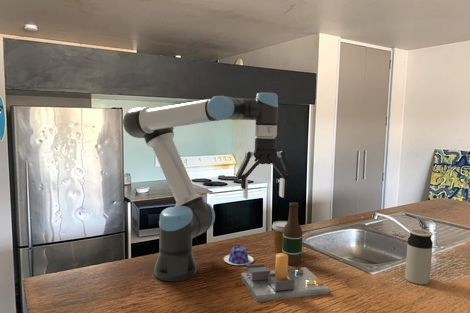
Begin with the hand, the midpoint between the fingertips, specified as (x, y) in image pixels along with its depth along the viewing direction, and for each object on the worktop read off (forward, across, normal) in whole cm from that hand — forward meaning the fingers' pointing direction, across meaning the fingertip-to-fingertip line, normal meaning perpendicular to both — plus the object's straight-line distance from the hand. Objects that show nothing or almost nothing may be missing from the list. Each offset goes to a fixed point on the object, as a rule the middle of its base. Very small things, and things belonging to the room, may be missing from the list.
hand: (263, 197), depth 131 cm
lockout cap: (+24, +2, -14) cm, 28 cm away
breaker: (+26, -3, -6) cm, 27 cm away
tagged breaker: (+26, +2, -14) cm, 30 cm away
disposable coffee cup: (+29, +17, +21) cm, 40 cm away
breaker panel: (+29, +4, -10) cm, 31 cm away
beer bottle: (+29, +16, +9) cm, 34 cm away
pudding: (+29, -4, +15) cm, 33 cm away
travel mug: (+29, +54, -16) cm, 63 cm away
